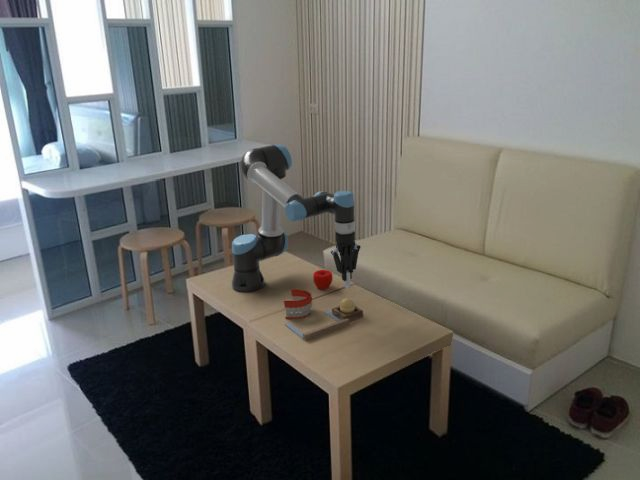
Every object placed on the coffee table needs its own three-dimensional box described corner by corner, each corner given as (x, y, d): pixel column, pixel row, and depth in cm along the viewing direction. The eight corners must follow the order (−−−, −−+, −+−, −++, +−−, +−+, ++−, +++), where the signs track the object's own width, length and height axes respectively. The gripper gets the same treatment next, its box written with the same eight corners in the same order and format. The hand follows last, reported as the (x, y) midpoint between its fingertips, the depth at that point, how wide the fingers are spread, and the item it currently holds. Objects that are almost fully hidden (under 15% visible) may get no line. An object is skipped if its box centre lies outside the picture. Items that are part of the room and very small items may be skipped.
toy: (309, 321, 231) (308, 303, 228) (284, 319, 233) (283, 302, 230) (315, 307, 242) (314, 290, 239) (292, 305, 244) (290, 288, 242)
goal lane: (285, 325, 228) (284, 319, 228) (327, 310, 239) (327, 305, 238) (305, 340, 216) (304, 335, 215) (349, 325, 226) (349, 319, 225)
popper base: (332, 315, 235) (332, 308, 234) (350, 309, 239) (350, 302, 238) (344, 323, 227) (344, 316, 226) (363, 317, 232) (363, 310, 231)
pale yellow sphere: (337, 311, 233) (336, 297, 231) (349, 307, 236) (348, 293, 234) (345, 316, 229) (345, 303, 227) (357, 312, 232) (357, 299, 230)
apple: (336, 288, 258) (336, 272, 256) (320, 293, 254) (319, 277, 251) (326, 282, 266) (325, 266, 263) (310, 287, 261) (309, 271, 259)
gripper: (336, 237, 214) (339, 294, 222) (364, 230, 221) (366, 286, 229) (325, 232, 220) (328, 288, 228) (353, 225, 227) (354, 280, 235)
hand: (347, 287), depth 228 cm, fingers closed
